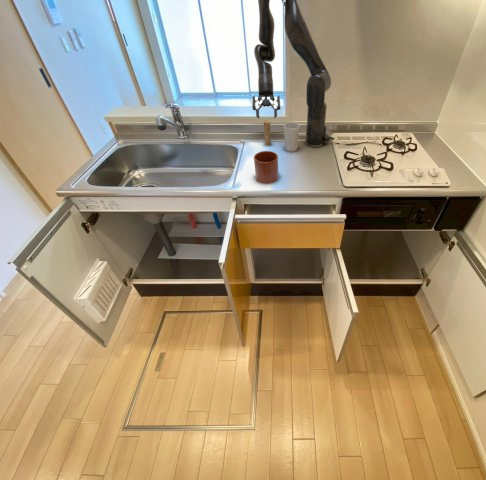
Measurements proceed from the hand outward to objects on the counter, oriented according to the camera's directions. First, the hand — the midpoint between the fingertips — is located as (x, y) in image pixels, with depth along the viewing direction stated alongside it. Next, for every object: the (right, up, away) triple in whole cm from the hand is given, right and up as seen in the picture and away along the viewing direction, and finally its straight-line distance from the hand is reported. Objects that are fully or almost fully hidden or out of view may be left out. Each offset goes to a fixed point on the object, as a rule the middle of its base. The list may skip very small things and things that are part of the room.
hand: (266, 117), depth 136 cm
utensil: (0, -11, +6) cm, 13 cm away
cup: (+13, -15, +3) cm, 20 cm away
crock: (+1, -34, -16) cm, 38 cm away
